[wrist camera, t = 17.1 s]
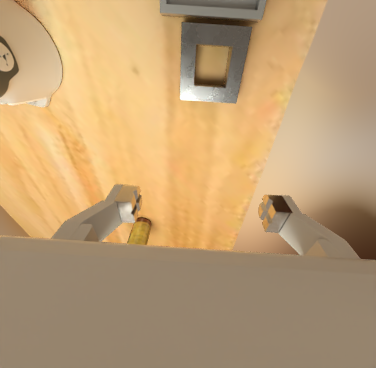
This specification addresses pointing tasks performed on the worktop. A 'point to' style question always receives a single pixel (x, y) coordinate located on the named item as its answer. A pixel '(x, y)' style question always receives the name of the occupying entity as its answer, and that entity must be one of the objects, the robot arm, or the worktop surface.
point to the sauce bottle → (140, 232)
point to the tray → (215, 9)
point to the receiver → (238, 48)
